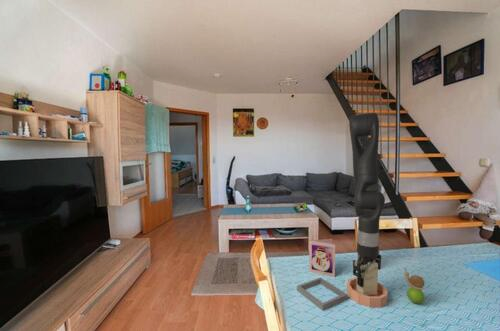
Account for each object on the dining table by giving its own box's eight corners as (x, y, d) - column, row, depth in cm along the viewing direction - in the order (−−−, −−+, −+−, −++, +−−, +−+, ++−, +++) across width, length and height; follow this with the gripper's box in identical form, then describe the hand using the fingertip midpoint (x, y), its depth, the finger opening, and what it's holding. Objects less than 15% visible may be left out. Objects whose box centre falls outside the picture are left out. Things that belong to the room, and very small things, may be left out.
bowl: (362, 282, 102) (362, 274, 102) (395, 299, 90) (395, 291, 90) (339, 291, 96) (339, 283, 95) (371, 312, 83) (372, 302, 83)
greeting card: (308, 272, 111) (309, 241, 110) (312, 265, 118) (312, 235, 117) (334, 278, 106) (335, 245, 105) (336, 270, 113) (336, 239, 112)
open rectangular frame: (320, 281, 103) (320, 277, 103) (347, 299, 91) (347, 294, 90) (297, 290, 97) (297, 285, 97) (322, 310, 84) (322, 305, 84)
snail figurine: (404, 295, 93) (405, 265, 92) (424, 301, 89) (426, 270, 88) (402, 301, 89) (403, 270, 88) (423, 309, 85) (425, 276, 84)
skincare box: (362, 295, 90) (363, 265, 89) (356, 289, 95) (356, 259, 94) (378, 294, 91) (378, 263, 90) (370, 287, 95) (371, 258, 95)
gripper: (370, 235, 98) (369, 274, 99) (347, 242, 91) (346, 283, 93) (388, 241, 92) (387, 283, 93) (364, 249, 85) (363, 293, 86)
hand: (366, 283), depth 93 cm, fingers closed on skincare box, 7 cm apart
